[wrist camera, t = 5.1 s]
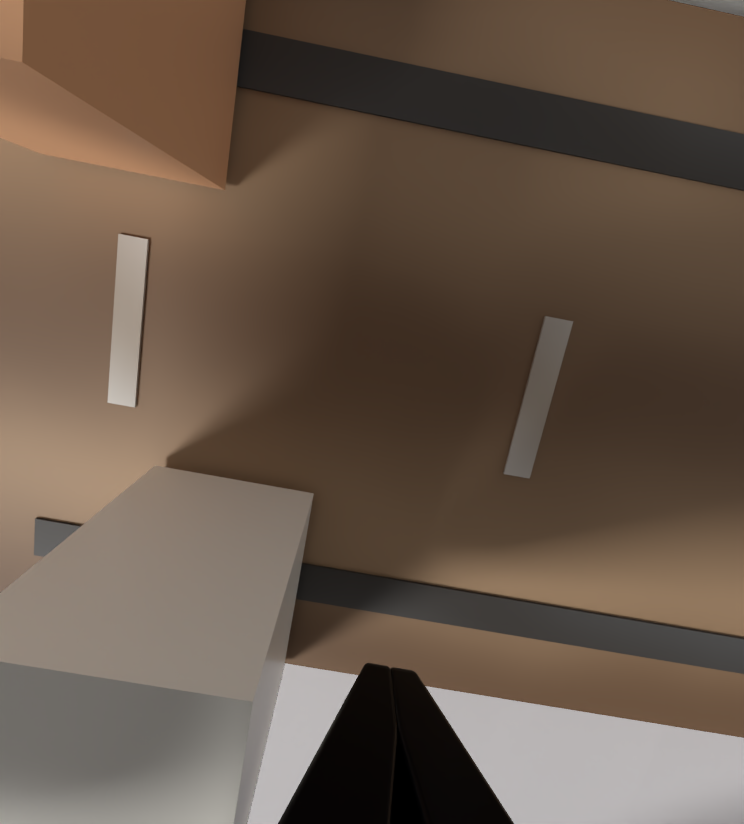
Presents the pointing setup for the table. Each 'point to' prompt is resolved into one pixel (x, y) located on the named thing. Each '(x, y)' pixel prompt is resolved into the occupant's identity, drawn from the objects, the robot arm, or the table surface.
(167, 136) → the terracotta fader
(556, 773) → the table surface
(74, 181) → the board
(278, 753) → the table surface
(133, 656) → the block
